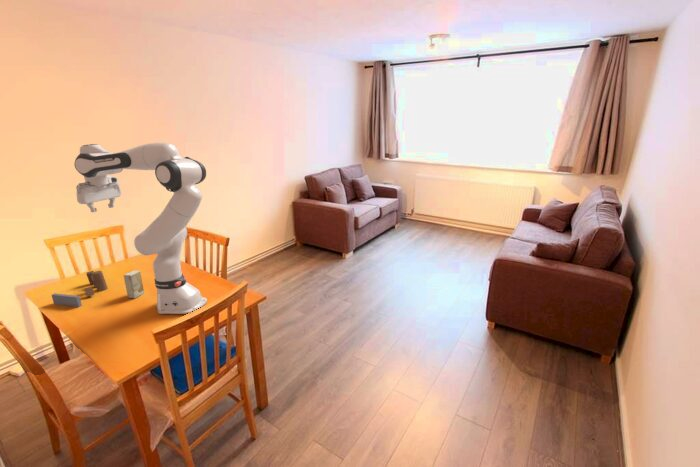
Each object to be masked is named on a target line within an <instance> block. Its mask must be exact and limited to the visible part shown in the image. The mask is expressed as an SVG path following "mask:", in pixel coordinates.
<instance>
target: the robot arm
mask: <svg viewBox="0 0 700 467" xmlns="http://www.w3.org/2000/svg"><path fill="white" fill-rule="evenodd" d="M74 168H75V170H76V171H77V172H78V174H80V175H82V176H83V177H84V181H85V182H80V183H78V184H77V185H76V186H75V189H76V200H77V203H79V204H80V205H86V206H87V207H88V208H89V209H90V212H91V213H96V212H98V210H97V207H95V206H94V203H97V202H101V201H107V200H109V203H107V206H108V208H109V209H112V208H115V202H116V199H117V198H120V197H121V196H122V189H121V185H120V184H119V183H118V182H119V178H118V177H114V176H111V175H115V174H119V173H121V172H122V171H123V170H137V171H154V174H155V178H156V180H157V181H158V182H159V184H160V185H161V186H163V187H164V188H165V189H166V190H167V191H168V192H172V193H173V195H172V196H171V197H170V199H169V201H168V202H167V204H166V205H165V207H164V208H163V210H162V212H161V213H159V215H158V217H156V218H155V219H154V220H153V221H151V223H150V224H149V225H148V226H147V227H146V228H145V229H144V230H143V231H142V232H140V233H139V234H137V235H136V236H135V238H134V240H133V242H134V243H133V244H134V245H133V246H134V248H135V249H136V251H137V252H138V253H139V254H140V255H141V256H142V255H143V256H151V255H157V256H156V257H155V258H154V260H153V262H152V267H153V268H152V269H153V273H154V285H155V288H156V294H157V295H156V298H157V299H156V306H155V307H156V309H157V313H158V314H161V315H163V314H164V315H165V314H168V315H169V314H170V315H172V314H174V315H175V314H177V315H178V314H179V315H180V314H181V315H182V314H183V315H185V314H187V313H189V314H191V313H190V312H192V311H194V310H196V309H198V308H200V307H201V308H203V307H204V306H205V305H206V303H207V302H208V299H207V297H204V296H202V294H201V292H200V290H199V289H198V288H196V287H195V286H193V285H192V284H191V283H188V282H187V280H188V276H186V277H185V276H184V274H183V273H182V268H181V266H182V265H181V254H182V253H181V252H182V248H183V244H184V241H185V240H186V238H187V236H188V230H187V226H188V224H189V223H190V221H191V220H192V218H193V217H194V216H195V214H196V212H197V210H198V209H199V207H200V205H201V202H202V199H203V194H202V192H201V191H200V189H199V188H198V187H196V185H199V184H200V183H202V182H203V181H204V180H205V179H206V177H207V170H206V166H204V164H203V163H201V162H200V161H198V160H195V159H193V158H191V157H189V156H185V157H182V156H181V155H180V152H179V149H178V148H177V147H176V146H175V145H174V144H173V143H172V144H171V143H169V142H152V143H151V142H150V143H146V144H142V145H137V146H135V147H132V148H129V149H126V150H122V151H119V152H112V151H110V150H107V149H105V148H103V147H102V146H101V145H100V144H97V143H92V144H91V143H90V144H84V145H81V146H80V148H79V154H78V155H77V156H76V157H75V161H74ZM201 308H200V309H201ZM198 310H199V309H198ZM192 313H193V312H192Z"/></svg>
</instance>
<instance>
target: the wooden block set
mask: <svg viewBox="0 0 700 467" xmlns="http://www.w3.org/2000/svg"><path fill="white" fill-rule="evenodd" d="M86 276H87V279H88V282H89V285H93V286H88V287H85V288H84V289H83V290H84V292H85V296H86V297H87V298H88V297H91V296H94V295H95V291H94V289H96V290H97V292H104V291H107V290H108V285H107V282H106V279H105V276H104V273H103V271H102V270H97V271H94V270H90V271H87V272H86Z"/></svg>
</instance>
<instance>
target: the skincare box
mask: <svg viewBox="0 0 700 467" xmlns="http://www.w3.org/2000/svg"><path fill="white" fill-rule="evenodd" d="M123 279H124V285H125V289H126V290H125V291H126V295H127V298H129V299H137V298H138V297H139V296H140V297H141V296H142V295H144V294H145V289H144V284H143V279H142V272H141V271H140V270H132V271H129V272H126V273H125V274H123Z"/></svg>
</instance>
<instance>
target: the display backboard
mask: <svg viewBox="0 0 700 467" xmlns="http://www.w3.org/2000/svg"><path fill="white" fill-rule="evenodd" d="M51 298H52V302H53V305H58V306H66V307H75V308H79V307H82V306H83V305H82V301H81V300H82V299H81V295H74V294H73V295H72V294H66V293H64V294H63V293H55V292H54V293H52V294H51Z"/></svg>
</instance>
